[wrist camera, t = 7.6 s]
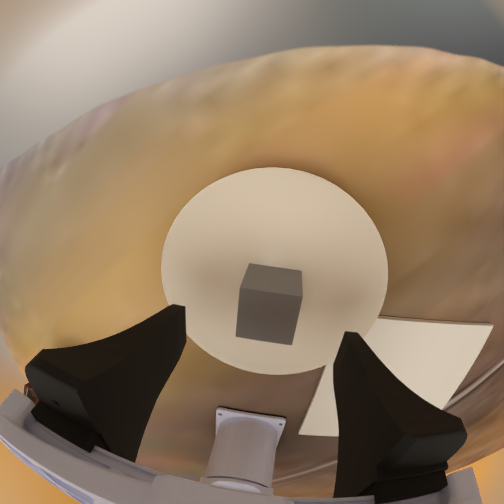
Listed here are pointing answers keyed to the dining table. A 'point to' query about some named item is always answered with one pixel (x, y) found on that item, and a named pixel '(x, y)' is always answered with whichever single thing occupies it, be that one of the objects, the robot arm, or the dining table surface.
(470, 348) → the mat
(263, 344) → the lid
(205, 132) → the dining table surface
